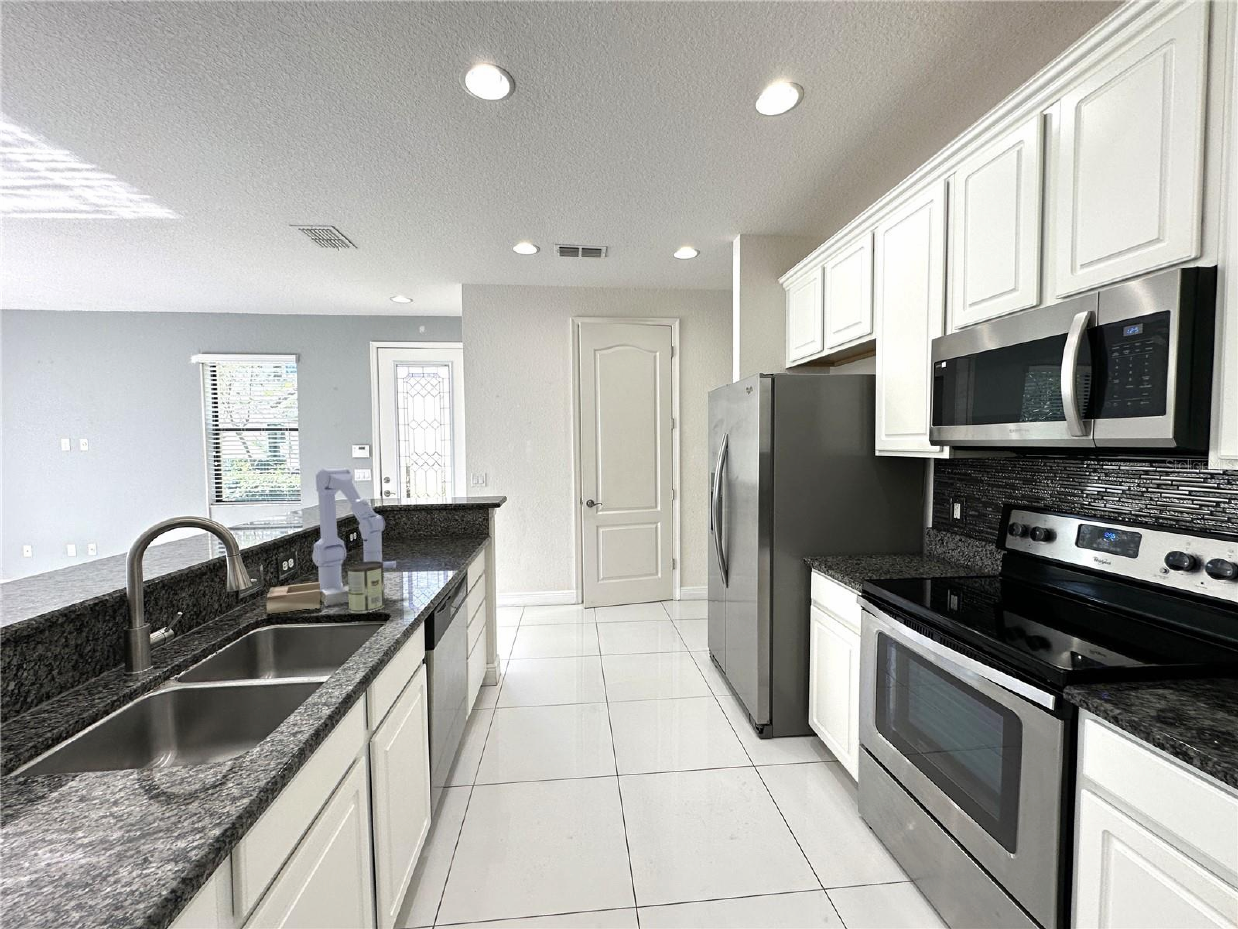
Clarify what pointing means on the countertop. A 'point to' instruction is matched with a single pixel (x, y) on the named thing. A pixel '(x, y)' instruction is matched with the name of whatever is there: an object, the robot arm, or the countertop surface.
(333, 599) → the aluminium block
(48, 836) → the countertop surface
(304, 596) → the wooden channel
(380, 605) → the coffee can
